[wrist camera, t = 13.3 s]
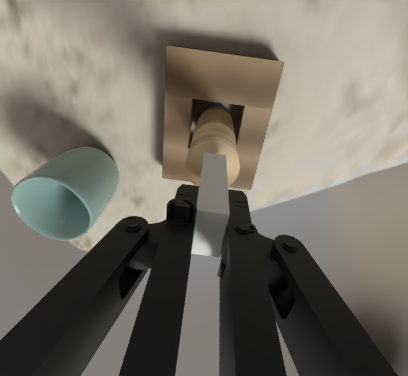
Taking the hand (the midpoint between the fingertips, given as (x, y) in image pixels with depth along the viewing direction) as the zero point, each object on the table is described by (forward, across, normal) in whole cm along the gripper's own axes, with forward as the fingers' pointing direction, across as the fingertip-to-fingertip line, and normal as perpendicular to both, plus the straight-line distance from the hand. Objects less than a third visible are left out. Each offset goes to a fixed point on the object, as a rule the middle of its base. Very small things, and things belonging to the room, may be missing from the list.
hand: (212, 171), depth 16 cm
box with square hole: (+13, 0, 0) cm, 13 cm away
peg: (+13, 0, 0) cm, 13 cm away
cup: (+13, -15, -8) cm, 21 cm away
